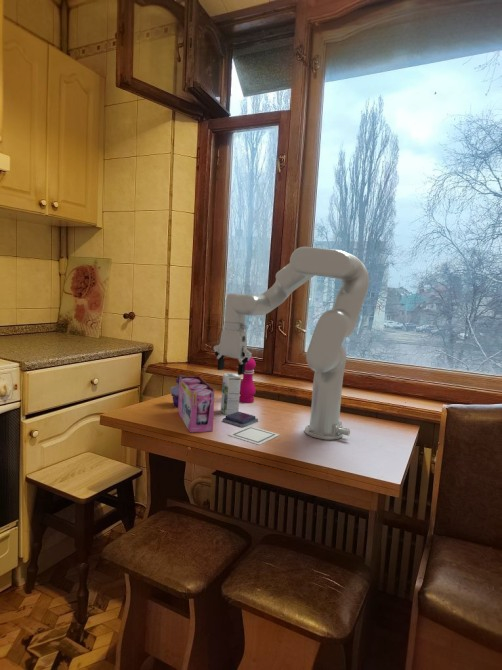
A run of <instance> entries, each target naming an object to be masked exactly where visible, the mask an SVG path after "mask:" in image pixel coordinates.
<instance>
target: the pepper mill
mask: <svg viewBox="0 0 502 670" xmlns="http://www.w3.org/2000/svg"><path fill="white" fill-rule="evenodd" d="M256 366H257V364H256V361H255V359H254V358H252V357H251V358H250V360H249V361H248V362H247V363H246V364H245V372H244V374H242V381H241V382H240V395H239V403H244V404H252V403H254V401H255V397H254V395H255V394H256V386H255V383H254V381H253V375H254V374H255V370H254V369H255V368H256Z"/></svg>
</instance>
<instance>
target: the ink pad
mask: <svg viewBox="0 0 502 670" xmlns="http://www.w3.org/2000/svg"><path fill="white" fill-rule="evenodd" d="M222 422H223V423H226V424H231V425H233V426H237V427H240V428H246V427H248V426H251V425H253V424H255V423H257V422H259V418H257V417H256V416H255V415H254V414H253V415H252V414H249V413H245V412H241V411H238V412H236V413H233V414H226V415H225V417H224V418H222Z"/></svg>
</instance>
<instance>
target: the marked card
mask: <svg viewBox="0 0 502 670" xmlns="http://www.w3.org/2000/svg"><path fill="white" fill-rule="evenodd" d="M228 436H229V437H233V438H235V439H237V440H238V439H239V440H242V441H244V442H249V443H251V444H255V445H258V446H260V445H263V444H265V443H267V442H269V441H271V440H273V439H275V438H278V437H279V436H280V434H279V433H275V432H272V431H268V430H266V429H262V428H259V427H255V426H251V425H248V426H246V427H242V428H241V429H238V430H236V431H233V432H231V433H229V434H228Z"/></svg>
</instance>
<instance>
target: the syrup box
mask: <svg viewBox="0 0 502 670" xmlns="http://www.w3.org/2000/svg"><path fill="white" fill-rule="evenodd" d="M241 379H242V377H241V376H240V375H238V373H231V372H230V373H223V374H222V386H221V387H222V388H221V389H222V390H221V399H220V400H221V401H220V402H221V403H220V411H221V412H222V413H223V415H230V414H233V413H236V412H239V407H240V406H239V405H240V401H239V396H241V395H240V384H241V382H242V381H241Z"/></svg>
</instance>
